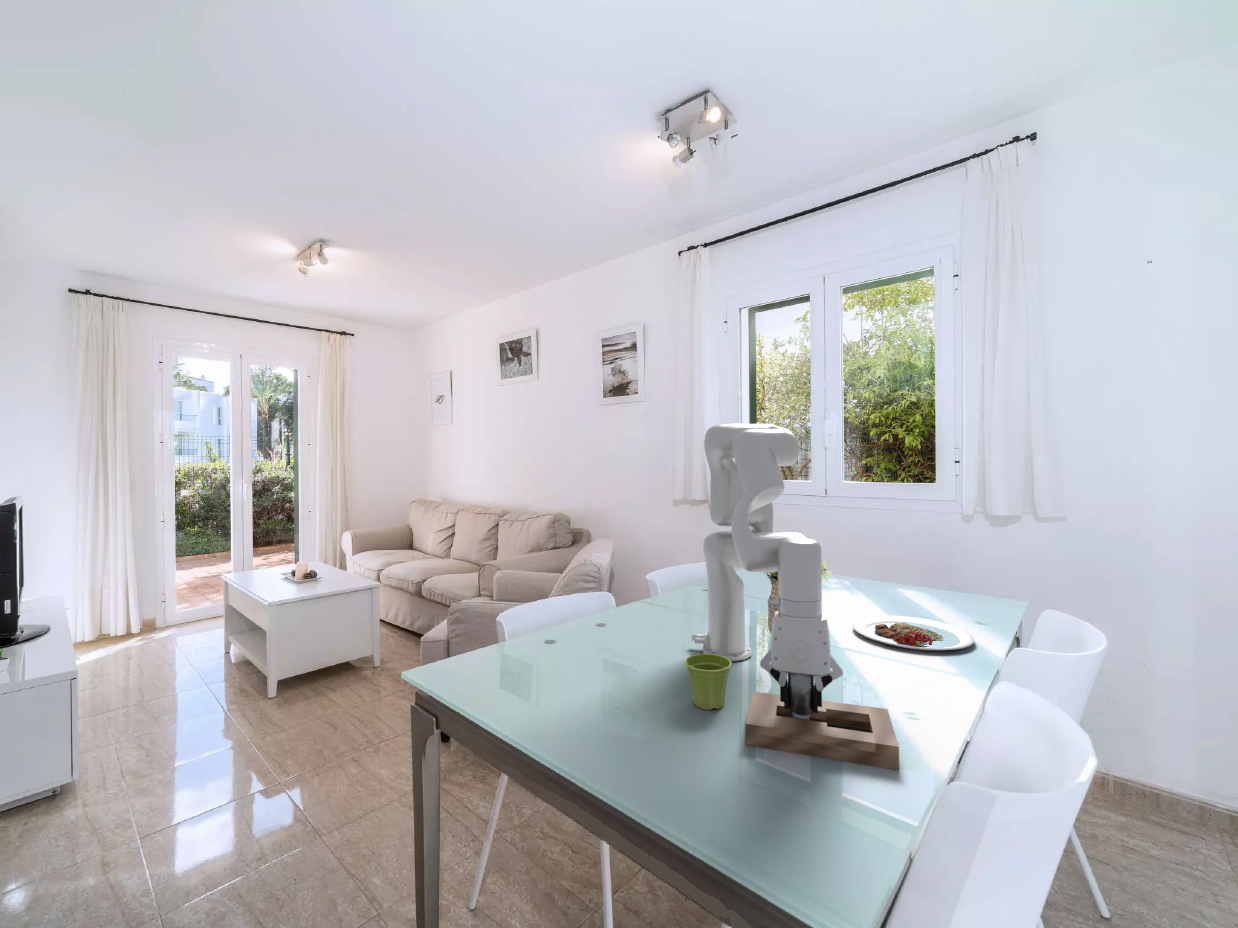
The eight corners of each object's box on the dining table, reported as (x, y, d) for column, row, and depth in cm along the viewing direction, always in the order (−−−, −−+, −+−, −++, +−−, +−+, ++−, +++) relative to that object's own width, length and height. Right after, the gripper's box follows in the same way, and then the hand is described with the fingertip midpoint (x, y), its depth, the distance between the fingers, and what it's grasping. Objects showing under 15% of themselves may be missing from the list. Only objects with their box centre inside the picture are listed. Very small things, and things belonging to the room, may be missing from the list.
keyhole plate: (745, 744, 93) (745, 723, 94) (753, 710, 107) (753, 691, 107) (899, 769, 85) (898, 746, 85) (887, 728, 98) (887, 708, 98)
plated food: (929, 620, 167) (929, 609, 167) (1002, 654, 137) (1002, 641, 137) (835, 622, 166) (834, 611, 166) (887, 657, 136) (887, 643, 136)
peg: (784, 738, 95) (783, 665, 95) (785, 724, 101) (785, 654, 101) (818, 743, 93) (817, 669, 94) (817, 728, 99) (816, 658, 99)
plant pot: (722, 718, 103) (721, 673, 103) (677, 707, 108) (677, 664, 108) (738, 700, 111) (738, 658, 111) (696, 690, 116) (696, 650, 116)
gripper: (750, 608, 96) (751, 710, 96) (852, 616, 91) (853, 724, 91) (754, 598, 103) (755, 693, 103) (848, 605, 98) (850, 705, 98)
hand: (800, 706), depth 97 cm, fingers closed on peg, 4 cm apart
